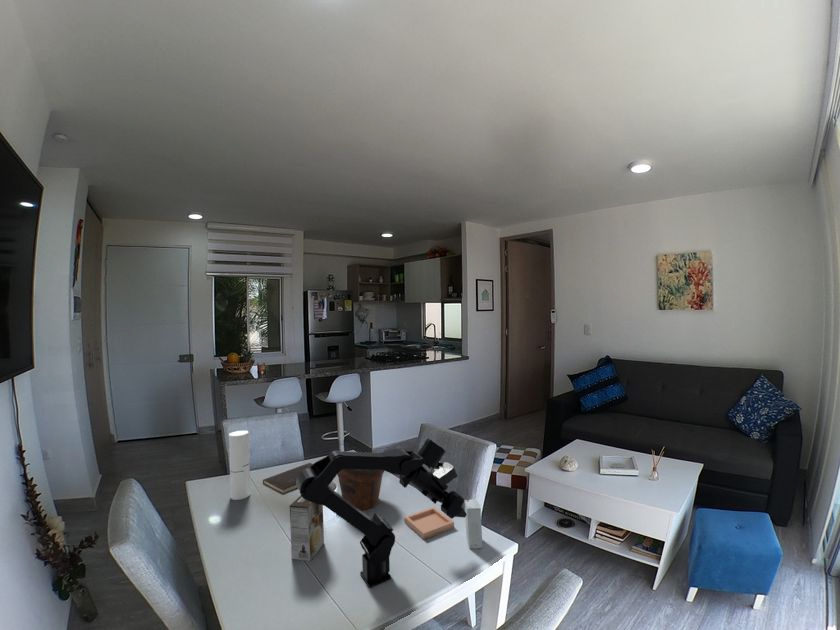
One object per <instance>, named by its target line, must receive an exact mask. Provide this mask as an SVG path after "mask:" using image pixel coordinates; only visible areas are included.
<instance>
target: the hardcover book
mask: <svg viewBox="0 0 840 630" xmlns="http://www.w3.org/2000/svg"><path fill="white" fill-rule="evenodd" d="M313 464H314V463H312V462H308V463H305V464H302V465H300V466H297V467H294V468H291V469H288V470H285V471H283V472H280V473H277V474H275V475H272V476H269V477H267V478H264V479H262V484H265V485H267V486H268V487H271V488H272V489H273V490H276V491H278V492H280V493H282V494H284V493H287V492H289V491H291V490H295V489H296V488H297V489H298V487H297V484H296V479H297V476H298V474H299V473H300V472H301V471H302V470H304V469H307V468H309V467H310V466H311V465H313Z"/></svg>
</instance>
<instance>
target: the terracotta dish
mask: <svg viewBox="0 0 840 630" xmlns="http://www.w3.org/2000/svg"><path fill="white" fill-rule="evenodd" d="M404 524H405V526H408V527H409V528H410V529H411V530H412V531H413V532H414V533H415V534H417V535H418V536H419V537H420V538H421V539H422V540H427V539H430V538H433V537H434V536H437V535H440V534H443V533H445V532H447V531H450V530H453V529H455V521H454V520H453V519H451V518H450V517H448V516H447V515H446V514H445V513H444V512H443V513H442V511H441V510H439V509H437V508H436V507H434V506H433V507H430V508H427V509H424V510H421V511H417V512H414V513H413V514H409V515H407V516H404Z"/></svg>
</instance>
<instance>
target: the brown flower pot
mask: <svg viewBox="0 0 840 630" xmlns="http://www.w3.org/2000/svg"><path fill="white" fill-rule="evenodd" d="M370 453H378V452H377V451H376V452H375V451H374V452H372V451H370ZM384 473H385V471H383V470H348V469H342V470H341V471H340V472H339V473H338V474H337V475H336V476H337V478H338V482H339V483H338V484H339V487H340V491H341V492H340V493H341V496H342V497H343V498H345V499H346V500H347V501H349V502H350V503H351V504H353V505H354V506H355V507H357V508H358V509H359V510H361V511H364V510H369V509H372V508H374V507H375V506H376V505H377V504H378V503H379V499H380V493H381V486H382V482H383V481H382V480H383V475H384Z"/></svg>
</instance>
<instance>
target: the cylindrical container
mask: <svg viewBox="0 0 840 630" xmlns="http://www.w3.org/2000/svg"><path fill="white" fill-rule="evenodd" d="M249 434H250V433H249V430H236V431H232V432H230V433H229V434H228V449H229V451H228V452H229V454H228V455H229V483H230V484H229V485H230V499H231V500H233V501H239V500H243V499H246V498H249V496H250V495H251V472H250V471H251V470H250V467H251V466H250V464H251V463H250V435H249Z"/></svg>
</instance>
